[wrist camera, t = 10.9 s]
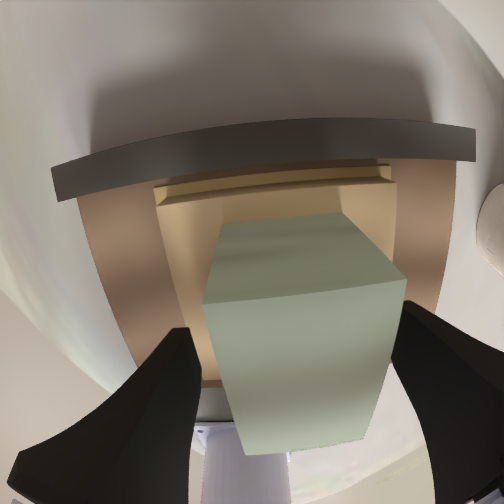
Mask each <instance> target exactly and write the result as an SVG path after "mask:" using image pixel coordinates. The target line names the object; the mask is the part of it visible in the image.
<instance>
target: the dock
mask: <svg viewBox="0 0 504 504" xmlns="http://www.w3.org/2000/svg"><path fill="white" fill-rule="evenodd" d="M456 161H469V162H476V131H475V129H472V128H466V127H460V126H453V125H446V124H438V123H430V122H420V121H409V120H395V119H375V118H311V119H291V120H276V121H264V122H254V123H244V124H236V125H228V126H221V127H214V128H207V129H201V130H195V131H189V132H183V133H178V134H173V135H168V136H163V137H158V138H153V139H149V140H144V141H140V142H136V143H132V144H128V145H124V146H120V147H116V148H112V149H109V150H105V151H102V152H98V153H95V154H91V155H88V156H85V157H82V158H78V159H75V160H72V161H69V162H66V163H63V164H60V165H57V166H55V167H52V168H51V172H52V177H53V182H54V187H55V192H56V196H57V200H58V202H60V201H64V200H68V199H72V198H77V202H78V206H79V210H80V214H81V218H82V222H83V225H84V229H85V233H86V236H87V240H88V243H89V246H90V250H91V253H92V256H93V259H94V262H95V265H96V268H97V271H98V274H99V277H100V280H101V283H102V285H103V288H104V291H105V294H106V296H107V299H108V301H109V304H110V306H111V309H112V311H113V314H114V316H115V319H116V321H117V324H118V326H119V328H120V331H121V333H122V335H123V337H124V340H125V342H126V344H127V346H128V348H129V351H130V353H131V355H132V357H133V359H134V361H135V363H136V365H137V367H138V368H139V367H140V366H141V364H142V363H143V362H144V361H145V360H146V359H147V358H148V356H149V355H150V354H151V353H152V352H153V350H154V349H155V348H156V347H157V346H158V344H159V343H160V342H161V341H162V340H163V338H164V337H165V336H166V335H167V334H168V332H169V331H170V330H171V329H172V328H180V327H186V325H185V322H184V318H183V315H182V311H181V308H180V305H179V301H178V297H177V294H176V290H175V286H174V283H173V279H172V275H171V271H170V267H169V263H168V259H167V255H166V251H165V247H164V243H163V238H162V234H161V230H160V225H159V221H158V216H157V211H156V206H157V205H158V204H159V203H160V202H161V201H163V200H164V199H165V198H166V197H171V196H177V195H183V194H190V193H197V192H204V191H211V190H219V189H227V188H235V187H243V186H252V185H261V184H271V183H281V182H292V181H304V180H318V179H333V178H350V177H372V176H382V177H384V178H386V179H389V180H391V181H393V182H396V183H397V205H396V225H395V239H394V251H393V261H392V263H393V264H394V265H395V266H396V267H397V268H398V269H399V270H400V271H401V272H402V274H403V275H404V276H405V277H406V278H407V284H406V290H405V296H404V301H405V300H411V301H413V302H415V303H416V304H418V305H420V306H422V307H423V308H425V309H427V310H428V311H430V312H431V313H433V314H434V313H435V310H436V306H437V302H438V298H439V294H440V290H441V285H442V281H443V276H444V271H445V266H446V260H447V255H448V249H449V242H450V236H451V228H452V220H453V210H454V199H455V185H456ZM390 363H392V360H391V358H390V362H389V364H390ZM206 387H224V386H223V383H222V380H203V377H201V388H206Z"/></svg>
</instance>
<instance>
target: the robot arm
mask: <svg viewBox="0 0 504 504" xmlns="http://www.w3.org/2000/svg"><path fill="white" fill-rule="evenodd" d="M391 360H392V363H393V366H394V368H395V371H396V373H397V375H398V377H399V379H400V381H401V383H402V385H403V387H404V389H405V391H406V393H407V395H408V397H409V399H410V401H411V403H412V405H413V407H414V409H415V411H416V414H417V416H418V419H419V421H420V424H421V427H422V431H423V434H424V437H425V441H426V445H427V449H428V453H429V457H430V462H431V468H432V473H433V480H434V489H435V504H467V503H469V502H471V501H473V500H474V504H504V352H502V351H500V350H497V349H495V348H493V347H491V346H489V345H486V344H484V343H482V342H480V341H478V340H477V339H475V338H473V337H471V336H469V335H468V334H466V333H464V332H462V331H461V330H459V329H457V328H456V327H454V326H452V325H451V324H449V323H447V322H446V321H444V320H443V319H441V318H439V317H438V316H436V315H435V314H433V313H431V312H430V311H428V310H427V309H425V308H423V307H422V306H420V305H418V304H416V303H415V302H413V301H411V300H405V301H403V306H402V312H401V316H400V321H399V326H398V330H397V334H396V339H395V343H394V347H393V351H392V354H391ZM201 377H202V367H201V364H200V361H199V357H198V354H197V351H196V348H195V345H194V341H193V338H192V335H191V331H190V328H189V327H180V328H172V329H171V330H170V331H169V332H168V334H167V335H166V336H165V337H164V338H163V340H162V341H161V342H160V343H159V344H158V346H157V347H156V348H155V349H154V350H153V352H152V353H151V354H150V355H149V356H148V358H147V359H146V360H145V361H144V362H143V363H142V364H141V366H140V367H139V368H138V369H137V370H136V371H135V372H134V373H133V374H132V375H131V376H130V377H129V379H128V380H127V381H126V382H125V383H124V384H123V385H122V386H121V387H120V388H119V389H118V390H117V391H116V392H115V393H114V394H112V395H111V396H110V397H109V398H108V399H107V400H106V401H105V402H103V403H102V404H101V405H100V406H99V407H97V408H96V409H95V410H93V411H92V412H91V413H89V414H88V415H87V416H85V417H84V418H82V419H81V420H80V421H78V422H77V423H75V424H74V425H73V426H71V427H69V428H68V429H66V430H64V431H63V432H61V433H59V434H57V435H55V436H54V437H52V438H50V439H48V440H46V441H44V442H42V443H39V444H37V445H35V446H32V447H30V448H28V449H25V450H23V451H20V452H19V453H18V456H17V458H16V460H15V462H14V465H13V467H12V470H11V472H10V475H9V477H8V480H7V484H8V485H9V486H10V487H11V488H12V489H13V490H15V491H16V492H18V493H19V494H21V495H22V496H24V497H25V498H27V499H28V500H30V501H31V502H33V503H35V504H188V482H189V481H188V480H189V479H188V477H189V458H190V448H191V442H192V436H193V431H194V430H195V432H196V434H197V436H198V438H199V439H200V441H201V443H202V445H203V447H204V448H205V461H204V471H203V483H202V494H201V504H291V494H290V484H289V473H288V463H289V462H290V452H285V453H275V454H263V455H245V453H244V450H243V447H242V444H241V441H240V438H239V435H238V432H237V429H236V426H235V422H198V423H195V420H196V415H197V410H198V404H199V399H200V393H201ZM11 504H23V503H21V502H19V501H18V500H16V499H13V500H12V503H11Z"/></svg>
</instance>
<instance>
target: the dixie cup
mask: <svg viewBox="0 0 504 504" xmlns="http://www.w3.org/2000/svg"><path fill="white" fill-rule="evenodd" d="M476 240H477V246H478V249H479V251H480V253H481V255H482V256H483V257H484V258H485V259H486V260H487V261H488V262H489V263H490V264H491V265H492V266H493V267H494V268H495V269H496V270H497V271H498V272H499V273H500V274H501V276H502V277H503V278H504V183H503V184H500V185H498V186H496V187H495V188H494V189H493V190H492V191H491V192H490V193H489V194H488V196H487V197H486V199H485V201H484V203H483V205H482V208H481V210H480V213H479V217H478V222H477V229H476Z"/></svg>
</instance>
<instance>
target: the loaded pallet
mask: <svg viewBox="0 0 504 504" xmlns="http://www.w3.org/2000/svg"><path fill="white" fill-rule="evenodd" d="M396 205H397V183H396V182H393V181H391V180H389V179H386V178H384V177H382V176H372V177H350V178H333V179H318V180H304V181H292V182H281V183H271V184H261V185H252V186H243V187H235V188H227V189H219V190H211V191H204V192H197V193H190V194H183V195H177V196H171V197H166V198H165V199H164V200H163V201H161V202H160V203H159V204H158V205H157V206H156V211H157V216H158V221H159V225H160V230H161V234H162V238H163V243H164V247H165V251H166V255H167V259H168V263H169V267H170V271H171V275H172V279H173V283H174V286H175V290H176V294H177V297H178V301H179V305H180V308H181V311H182V315H183V318H184V322H185V325H186V327H189V328H190V331H191V335H192V338H193V341H194V345H195V348H196V351H197V354H198V357H199V361H200V364H201V367H202V377H203V380H222V383H223V386H224V390H225V393H226V397H227V400H228V403H229V406H230V410H231V413H232V416H233V419H234V422H235V426H236V429H237V432H238V435H239V438H240V441H241V444H242V447H243V450H244V453H245V455H263V454H275V453H285V452H294V451H302V450H309V449H315V448H321V447H327V446H333V445H338V444H343V443H347V442H352V441H356V440H361V439H363V438H364V436H365V433H366V431H367V428H368V426H369V423H370V420H371V418H372V415H373V412H374V409H375V407H376V404H377V401H378V398H379V395H380V392H381V389H382V386H383V382H384V379H385V376H386V372H387V369H388V365H389V362H390V358H391V354H392V351H393V347H394V343H395V339H396V334H397V330H398V326H399V321H400V316H401V312H402V306H403V301H404V296H405V290H406V284H407V278H406V277H405V276H404V275H403V274H402V272H401V271H400V270H399V269H398V268H397V267H396V266H395V265H394V264H393V263H392V261H393V251H394V239H395V225H396Z"/></svg>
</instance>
